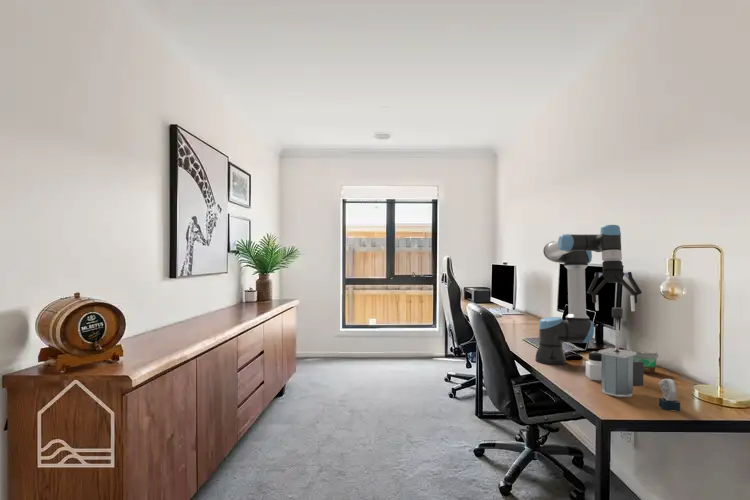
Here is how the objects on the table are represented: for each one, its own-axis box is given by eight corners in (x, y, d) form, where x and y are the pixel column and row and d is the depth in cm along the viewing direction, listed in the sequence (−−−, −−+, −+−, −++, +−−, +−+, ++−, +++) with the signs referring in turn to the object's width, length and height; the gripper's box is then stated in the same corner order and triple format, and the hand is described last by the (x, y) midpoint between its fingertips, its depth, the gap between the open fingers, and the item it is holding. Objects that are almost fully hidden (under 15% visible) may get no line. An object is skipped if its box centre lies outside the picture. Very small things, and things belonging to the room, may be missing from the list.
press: (614, 385, 193) (615, 346, 193) (644, 392, 183) (644, 351, 183) (596, 392, 184) (596, 350, 183) (626, 400, 174) (626, 356, 174)
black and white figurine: (606, 381, 199) (606, 354, 199) (589, 380, 201) (589, 353, 201) (601, 376, 206) (601, 351, 206) (585, 375, 208) (585, 350, 208)
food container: (632, 373, 213) (633, 352, 213) (629, 369, 219) (629, 349, 219) (661, 375, 209) (662, 354, 209) (657, 371, 215) (657, 351, 215)
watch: (673, 405, 168) (673, 377, 168) (682, 413, 160) (682, 383, 160) (656, 404, 170) (657, 375, 170) (664, 411, 162) (664, 381, 162)
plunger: (611, 360, 188) (611, 306, 188) (632, 364, 181) (633, 308, 181) (601, 363, 183) (601, 307, 183) (622, 367, 176) (623, 310, 176)
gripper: (581, 260, 187) (584, 310, 184) (647, 259, 180) (651, 311, 176) (578, 262, 194) (581, 310, 191) (642, 261, 187) (645, 311, 184)
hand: (615, 311), depth 184 cm, fingers open, 13 cm apart
